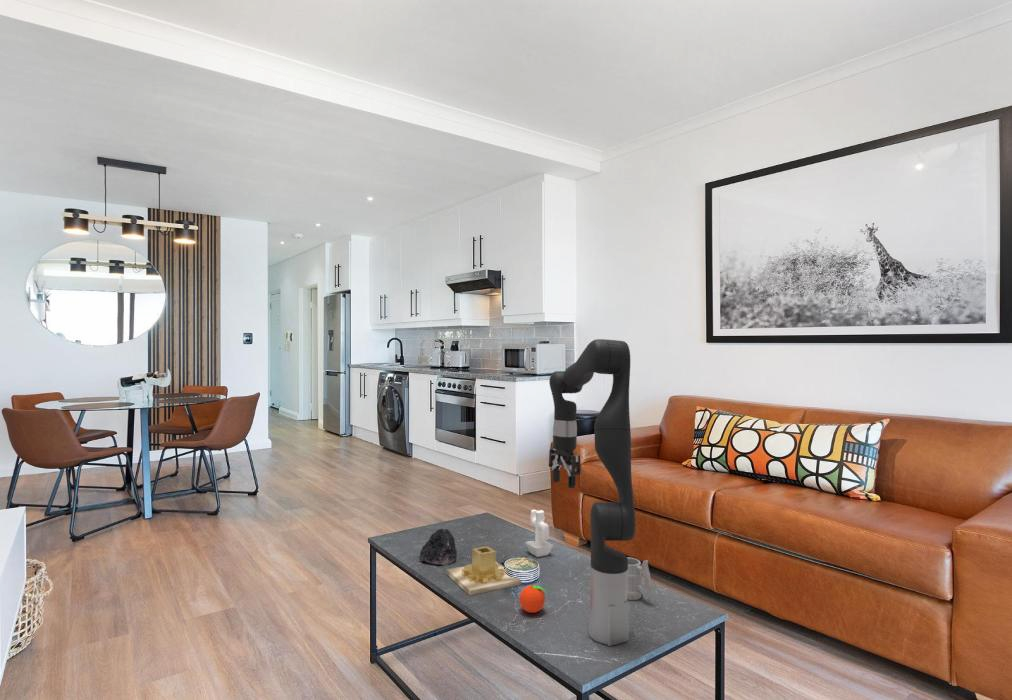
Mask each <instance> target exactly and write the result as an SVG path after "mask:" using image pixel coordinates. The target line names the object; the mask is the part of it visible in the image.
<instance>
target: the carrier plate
mask: <svg viewBox="0 0 1012 700" xmlns="http://www.w3.org/2000/svg"><path fill="white" fill-rule="evenodd" d="M496 564H498V569H502V568H503V569H504V568H505V567H504V566H503V565H502V564H500V563H499V562H497V561H496ZM464 567H466V565H465V566H457V567H452V568H451V567H450V568H447V569H446V575H447V576H448V577H449V578H450V579H451V580H452V581H453V582H455V584H457V586H459V587H460V588H461V589H462V590H463V591H464V592H465V593H466V594H467V595H468V596H473V595H480V594H484V593H489V592H493V591H499V590H503V589H508V588H512V587H517V586H518V587H519V586H521V585H522V579H520V577H518V578H514V577H510V576H508V575H506V573H505V575H503V578H501V580H499V581H496V580H495V579H493V580H488V583H484V584H483V583H482V582H478V583H476V582H475V581H472V582H470V581H469V580H468V575H467V576H463V575H462V569H464ZM505 569H506V568H505ZM505 569H504V570H505Z"/></svg>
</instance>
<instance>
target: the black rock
mask: <svg viewBox="0 0 1012 700" xmlns="http://www.w3.org/2000/svg"><path fill="white" fill-rule="evenodd" d="M455 542H456V541H455V537H454V536H453V534H452V532H451V531H450V530H449V529H447V528H438V529H436V531H435V532H433V533H432V534H431V535H430V537H429V539H428V541H426V542H425V544H424V545H423V546H422V548H421V550H420V552H419V554H420V556H419V560H420V559H421V561H420V562H423V561H425V562H424V563H428V564H433V565H443V566H446V565H450V564H452V563H454V562H455V561H456V560H457V556H458V553H457V552H458V551H457V549H456V548H457V547H456V543H455ZM445 564H446V565H445Z"/></svg>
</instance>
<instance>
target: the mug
mask: <svg viewBox="0 0 1012 700" xmlns="http://www.w3.org/2000/svg"><path fill="white" fill-rule="evenodd" d="M626 557H627V556H626ZM627 559H628V581H627V601H636V600H639V599H641V597H642V596H643V597H642V598H644V599H645V600H648V599H649V598H650V596H651V595H652V588H653V586H652V585H653V582H652V578H651V573H650V569H649V564H648V563H649V560H647V559H646V560H643V562H642V563H641V561H640V560H639V559H637V558H634V557H627ZM642 576H643V579H644V581H645V583H644V586H643V585H642Z"/></svg>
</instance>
